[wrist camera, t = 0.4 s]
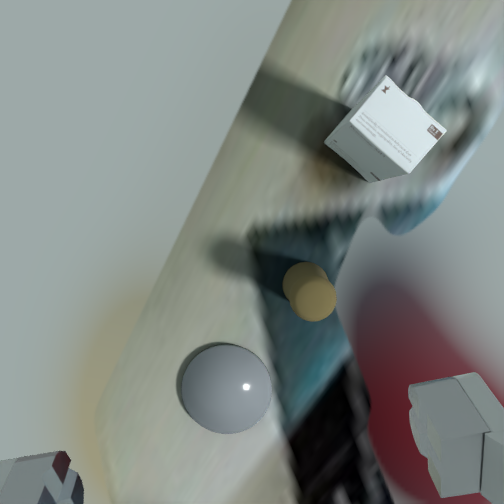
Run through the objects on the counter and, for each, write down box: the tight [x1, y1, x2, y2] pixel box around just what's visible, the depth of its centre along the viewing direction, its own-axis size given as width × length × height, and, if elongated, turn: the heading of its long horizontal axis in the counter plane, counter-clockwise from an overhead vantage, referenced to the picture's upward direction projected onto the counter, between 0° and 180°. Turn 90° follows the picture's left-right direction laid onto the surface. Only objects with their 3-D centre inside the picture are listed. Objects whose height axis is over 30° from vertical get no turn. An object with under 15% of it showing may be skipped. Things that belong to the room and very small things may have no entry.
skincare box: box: [324, 75, 446, 183], centre depth 52 cm, size 8×6×15 cm
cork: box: [283, 262, 337, 321], centre depth 55 cm, size 6×6×11 cm
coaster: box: [182, 344, 272, 434], centre depth 62 cm, size 12×12×1 cm
